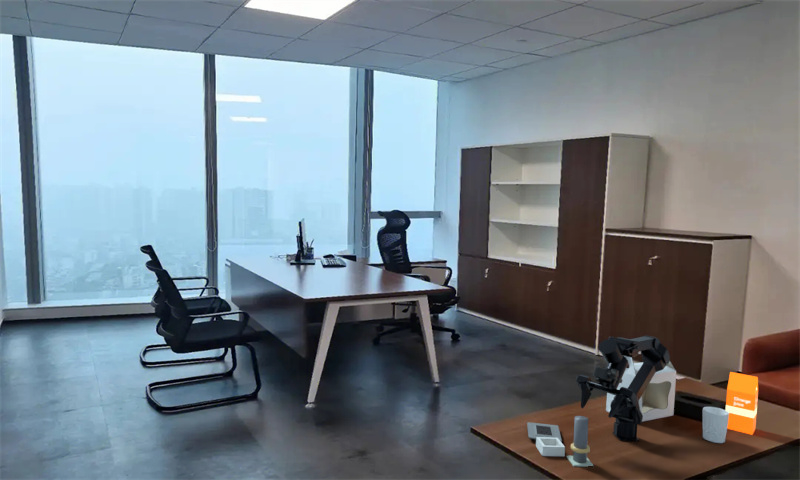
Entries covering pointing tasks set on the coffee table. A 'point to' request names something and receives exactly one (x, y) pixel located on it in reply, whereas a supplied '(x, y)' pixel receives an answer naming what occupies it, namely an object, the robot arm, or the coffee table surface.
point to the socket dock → (550, 446)
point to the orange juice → (742, 402)
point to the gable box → (651, 391)
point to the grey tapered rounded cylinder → (580, 439)
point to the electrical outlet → (543, 431)
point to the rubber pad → (579, 463)
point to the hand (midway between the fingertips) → (595, 412)
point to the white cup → (715, 424)
